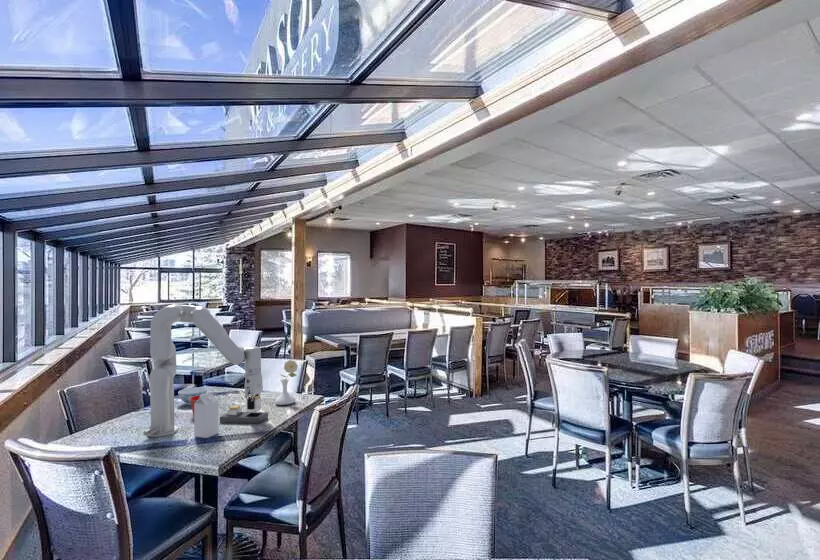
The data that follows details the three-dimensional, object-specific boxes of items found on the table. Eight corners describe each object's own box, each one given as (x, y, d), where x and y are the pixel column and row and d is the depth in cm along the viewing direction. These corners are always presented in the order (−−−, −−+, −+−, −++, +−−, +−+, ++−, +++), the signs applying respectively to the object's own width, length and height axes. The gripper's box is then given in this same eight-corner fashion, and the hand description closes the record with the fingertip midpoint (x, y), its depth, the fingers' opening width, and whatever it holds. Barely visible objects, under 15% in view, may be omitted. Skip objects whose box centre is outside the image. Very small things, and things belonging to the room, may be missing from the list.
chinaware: (174, 404, 245) (174, 390, 245) (200, 398, 256) (200, 385, 256) (184, 408, 235) (184, 395, 235) (211, 402, 246) (211, 389, 246)
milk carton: (194, 436, 190) (193, 394, 190) (207, 431, 197) (206, 391, 197) (206, 438, 188) (205, 396, 188) (218, 433, 194) (218, 392, 194)
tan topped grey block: (236, 422, 210) (236, 408, 210) (227, 421, 211) (227, 407, 211) (241, 419, 215) (241, 405, 215) (232, 418, 216) (232, 405, 216)
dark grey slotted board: (259, 424, 206) (259, 418, 206) (219, 422, 209) (219, 416, 209) (268, 418, 215) (268, 412, 215) (230, 417, 218) (229, 411, 218)
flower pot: (193, 420, 214) (192, 401, 214) (188, 415, 223) (188, 396, 223) (215, 415, 221) (215, 397, 221) (209, 411, 229) (209, 393, 229)
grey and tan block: (255, 412, 208) (255, 398, 209) (246, 411, 209) (246, 397, 209) (260, 409, 213) (260, 395, 214) (251, 408, 214) (251, 395, 214)
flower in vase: (273, 407, 234) (273, 362, 235) (275, 401, 246) (274, 359, 246) (298, 405, 238) (297, 361, 238) (298, 400, 249) (298, 357, 249)
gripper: (251, 375, 203) (251, 412, 202) (268, 368, 219) (268, 403, 219) (236, 374, 204) (237, 412, 203) (254, 367, 221) (255, 402, 220)
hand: (253, 407), depth 211 cm, fingers closed on grey and tan block, 5 cm apart
